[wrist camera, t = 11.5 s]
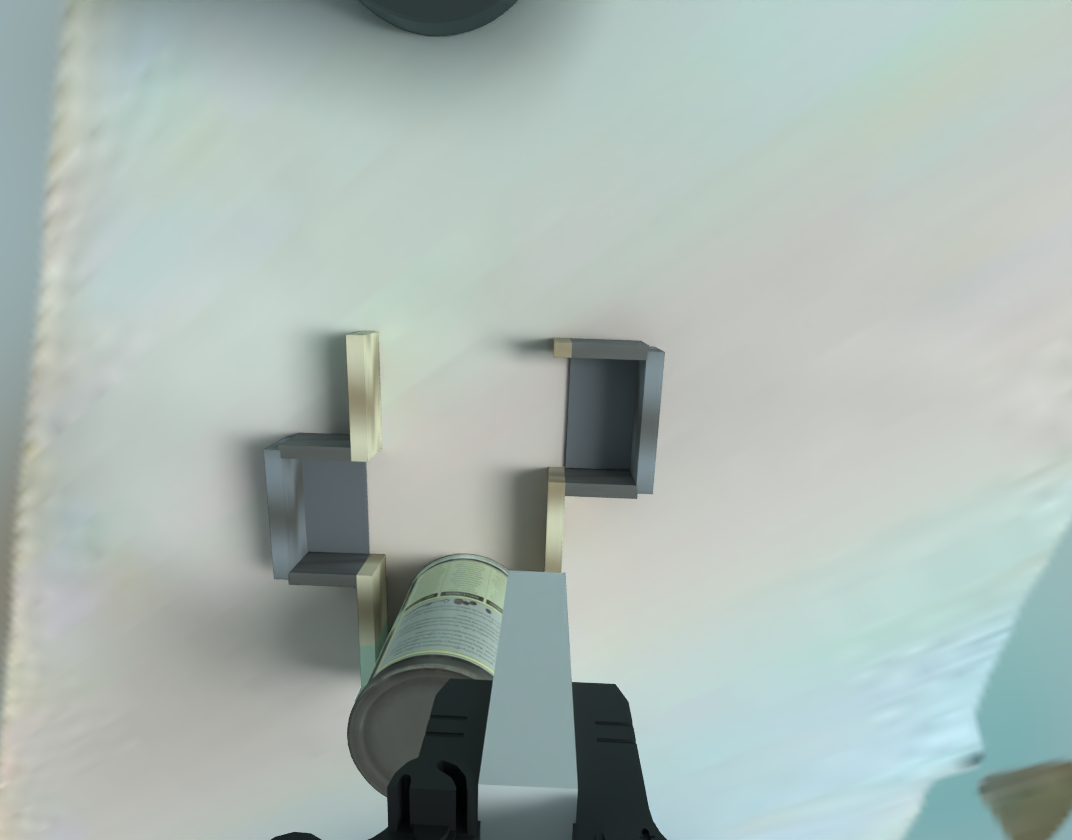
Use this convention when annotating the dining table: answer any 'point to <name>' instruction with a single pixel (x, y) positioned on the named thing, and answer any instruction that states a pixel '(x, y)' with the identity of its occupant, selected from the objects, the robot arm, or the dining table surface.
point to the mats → (592, 442)
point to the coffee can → (426, 660)
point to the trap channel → (367, 442)
